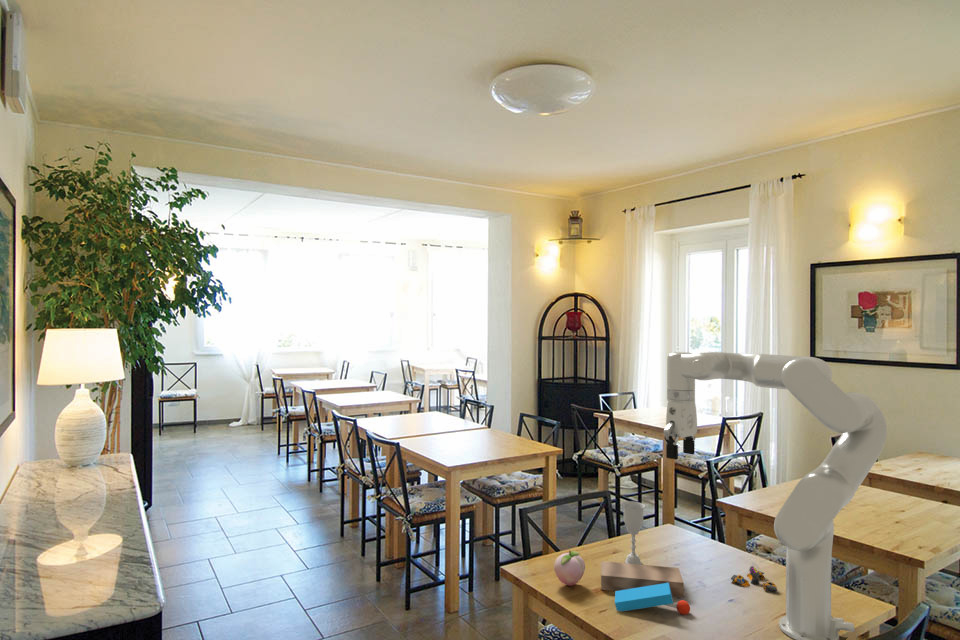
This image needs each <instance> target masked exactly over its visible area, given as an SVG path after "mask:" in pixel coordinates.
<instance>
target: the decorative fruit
mask: <svg viewBox="0 0 960 640" xmlns="http://www.w3.org/2000/svg"><path fill="white" fill-rule="evenodd" d="M580 555H581V553H580V552H578V551H577V550H569V552H564V553H562V554H560V555H559V556H557V558H556V559H555V561H554V565H553V566H554V567H553V568H554V573H555V575H556V577H557V578H558V580H559V581H560V582H561V583H563V584H564V585H566V586H569V587H571V586H575V585H576V584H577V583H578V582H579V581H581V579H582V577H583V576H584V573H585V570H586V563H585V561H584V560H583V558H582V557H581V556H580Z"/></svg>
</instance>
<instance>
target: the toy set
mask: <svg viewBox="0 0 960 640" xmlns="http://www.w3.org/2000/svg"><path fill="white" fill-rule="evenodd" d="M764 575H765V572H764V571H761V570H757V569H756V567H755V566H750V567H749V573H747V574H746V577H747V578H749V580H750V581H751V582H749V580H747V579H746V578H745V577H744V576H742V575H741V574H738V575H737V574H734V575H733V574H732V576H731V578H730V580H731V581H732V582H731V585H732V584H735V585H736V584H737V585H738V586H739V587H744V588H746V587H749V586H751V584H752V585H753V586H759V585H760V581H761V580H765V579H766V577H765V576H764ZM762 587H763V591H764V592H766V593H773V594H778V588H777V587H778V586H777V585H776V584H775V583H774V582H770V581H768V580H767V581H766V582H762Z"/></svg>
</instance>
